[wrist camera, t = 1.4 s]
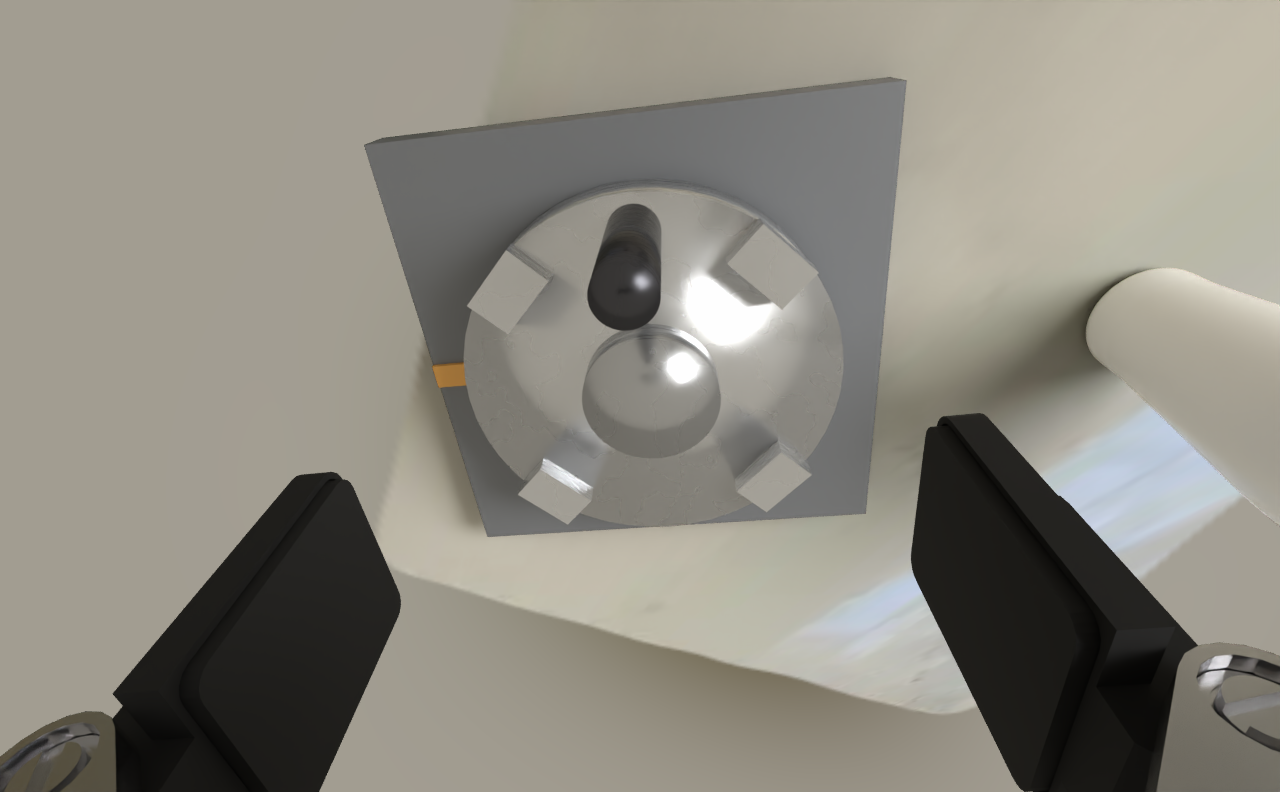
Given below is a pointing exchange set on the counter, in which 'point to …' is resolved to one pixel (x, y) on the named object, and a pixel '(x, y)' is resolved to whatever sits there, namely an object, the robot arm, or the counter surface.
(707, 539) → the counter surface
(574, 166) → the gray square base plate
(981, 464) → the robot arm
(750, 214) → the round metal lid
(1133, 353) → the drinking glass
